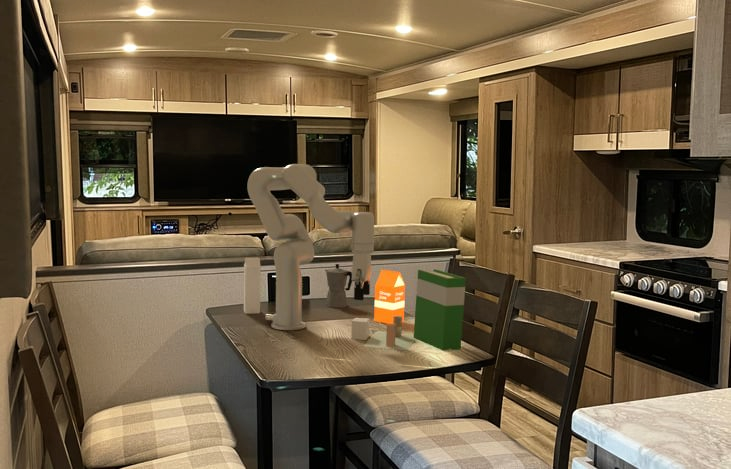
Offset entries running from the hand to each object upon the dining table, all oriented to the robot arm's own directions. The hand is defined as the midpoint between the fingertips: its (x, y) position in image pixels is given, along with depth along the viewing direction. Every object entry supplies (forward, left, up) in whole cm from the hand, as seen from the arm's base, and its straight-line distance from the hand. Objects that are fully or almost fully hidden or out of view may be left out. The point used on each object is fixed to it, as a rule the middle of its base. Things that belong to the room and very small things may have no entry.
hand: (361, 297), depth 235 cm
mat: (+11, 0, -15) cm, 18 cm away
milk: (-51, +27, -15) cm, 60 cm away
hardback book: (+26, +1, -15) cm, 30 cm away
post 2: (+12, +6, -14) cm, 19 cm away
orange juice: (+5, +28, -15) cm, 32 cm away
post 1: (+12, -7, -14) cm, 20 cm away
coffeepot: (-21, +50, -15) cm, 56 cm away
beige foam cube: (0, 0, -15) cm, 15 cm away
